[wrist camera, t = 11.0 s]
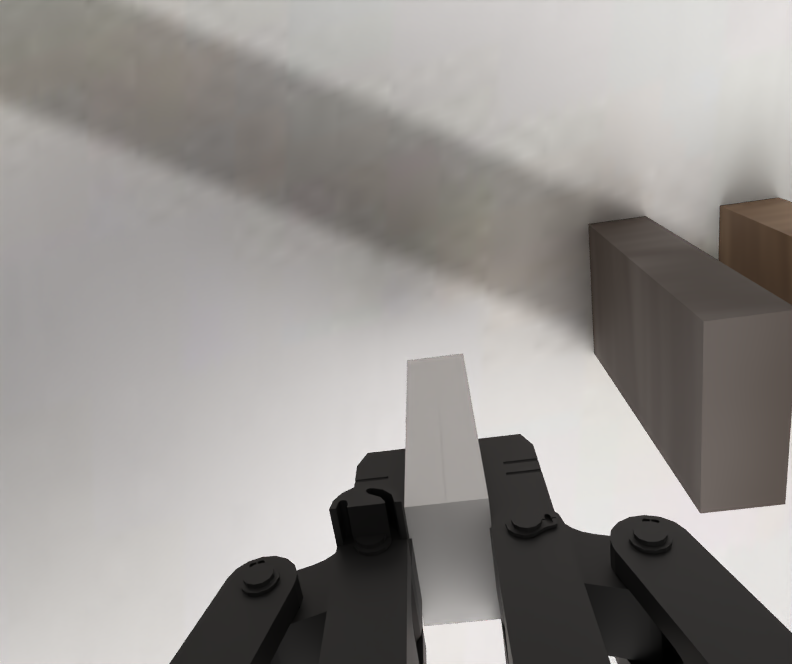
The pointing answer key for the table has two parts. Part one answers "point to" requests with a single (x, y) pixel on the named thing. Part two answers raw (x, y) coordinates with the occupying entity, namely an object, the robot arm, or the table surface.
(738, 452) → the head tile
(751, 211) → the domino
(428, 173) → the table surface
